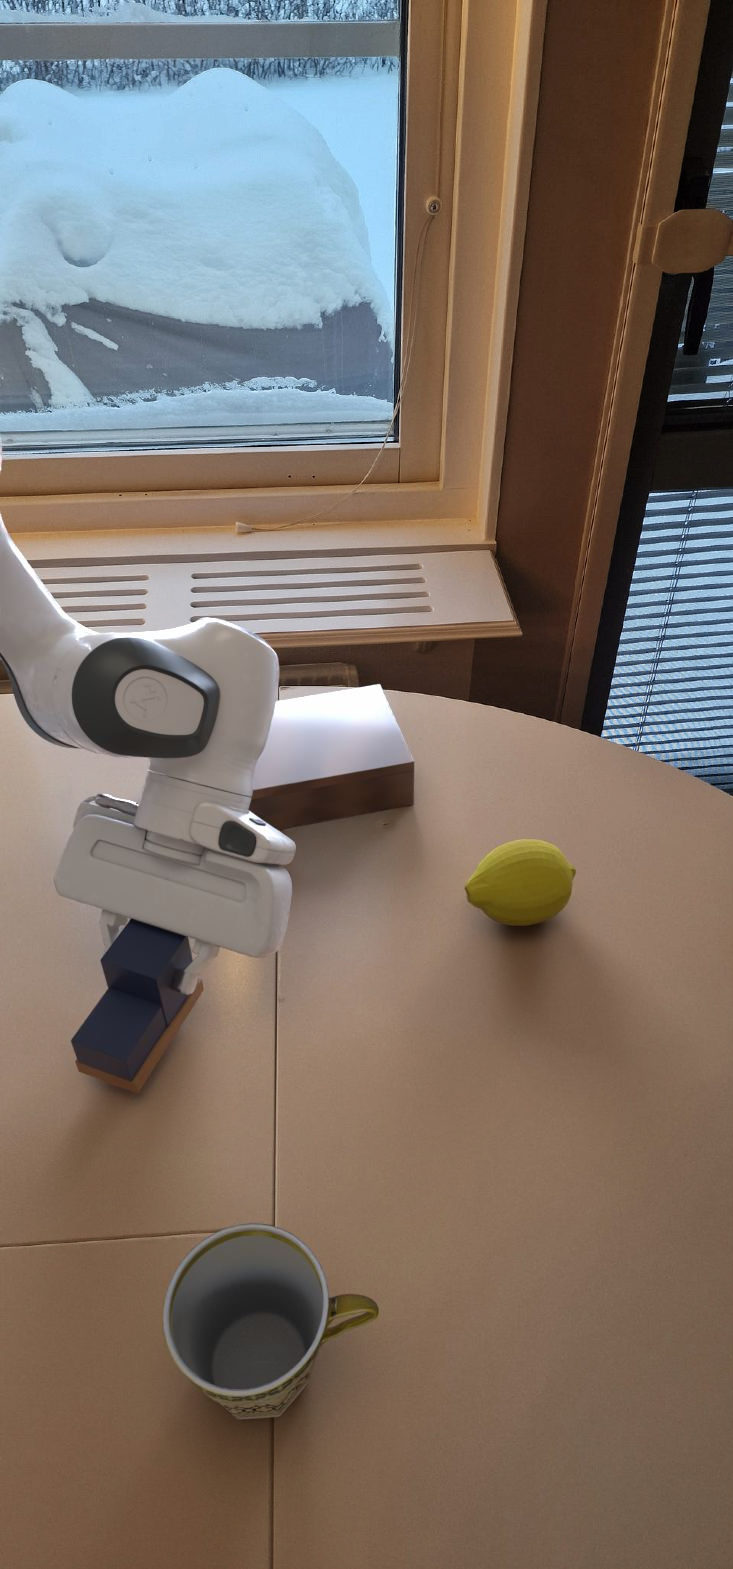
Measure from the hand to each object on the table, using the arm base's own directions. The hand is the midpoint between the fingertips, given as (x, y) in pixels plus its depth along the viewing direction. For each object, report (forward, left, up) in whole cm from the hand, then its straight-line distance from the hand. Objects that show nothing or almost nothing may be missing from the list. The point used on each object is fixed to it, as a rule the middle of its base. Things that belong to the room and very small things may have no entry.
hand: (147, 980), depth 85 cm
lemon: (+31, +15, -6) cm, 35 cm away
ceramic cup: (+14, -26, -6) cm, 31 cm away
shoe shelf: (+9, +33, -6) cm, 34 cm away
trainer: (-1, -2, -4) cm, 5 cm away
